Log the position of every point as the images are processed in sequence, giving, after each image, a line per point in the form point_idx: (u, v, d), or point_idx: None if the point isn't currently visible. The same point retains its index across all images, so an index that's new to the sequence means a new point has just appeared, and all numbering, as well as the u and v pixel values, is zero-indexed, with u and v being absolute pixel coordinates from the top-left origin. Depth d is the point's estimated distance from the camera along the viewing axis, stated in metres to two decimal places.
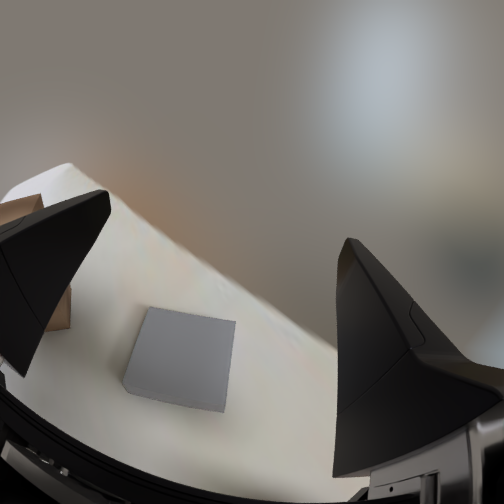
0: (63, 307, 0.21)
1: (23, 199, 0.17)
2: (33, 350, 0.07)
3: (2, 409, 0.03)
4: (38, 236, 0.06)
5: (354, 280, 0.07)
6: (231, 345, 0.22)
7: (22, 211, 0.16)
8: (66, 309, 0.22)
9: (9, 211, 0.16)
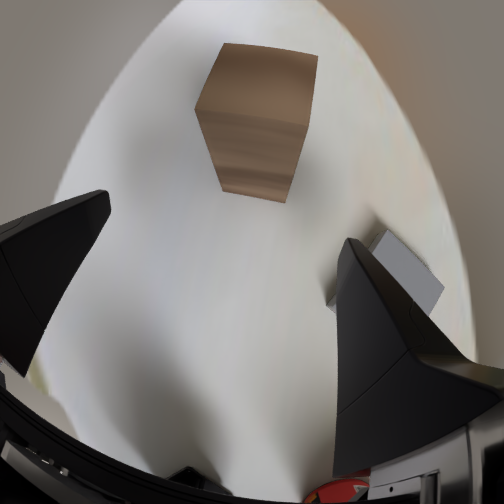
0: None
1: (286, 53, 0.12)
2: (33, 350, 0.07)
3: (2, 409, 0.03)
4: (38, 236, 0.06)
5: (354, 280, 0.07)
6: (430, 310, 0.20)
7: (292, 81, 0.12)
8: None
9: (261, 68, 0.12)
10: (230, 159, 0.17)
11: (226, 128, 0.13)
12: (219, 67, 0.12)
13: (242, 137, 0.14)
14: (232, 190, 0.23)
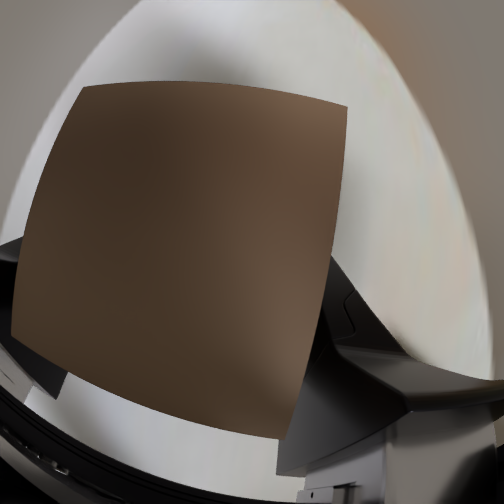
0: None
1: (242, 102, 0.04)
2: None
3: (2, 409, 0.03)
4: None
5: None
6: None
7: (247, 246, 0.04)
8: None
9: (147, 183, 0.04)
10: None
11: None
12: (49, 184, 0.04)
13: None
14: None
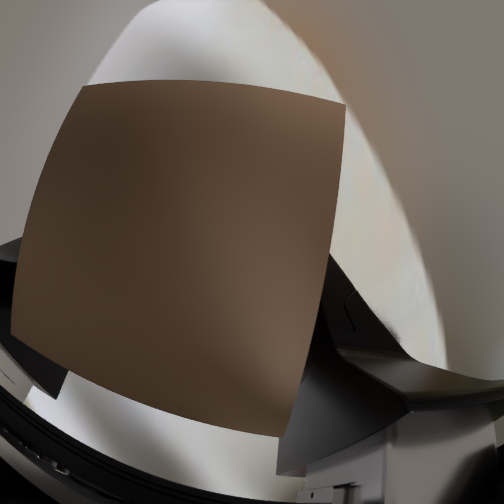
0: None
1: (241, 100, 0.04)
2: (65, 370, 0.07)
3: (2, 409, 0.03)
4: None
5: None
6: None
7: (246, 242, 0.04)
8: None
9: (146, 181, 0.04)
10: None
11: None
12: (49, 182, 0.04)
13: None
14: None
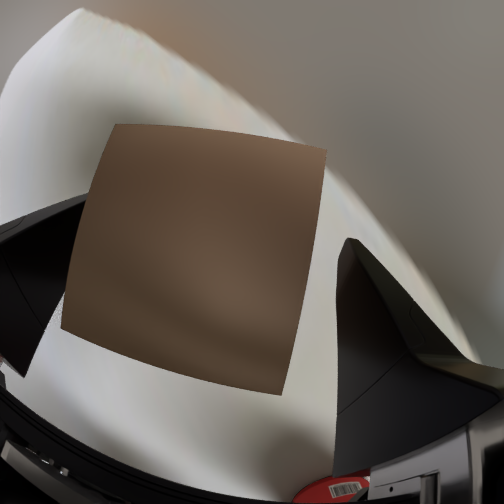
0: None
1: (248, 149, 0.06)
2: (33, 351, 0.07)
3: (2, 409, 0.03)
4: (38, 236, 0.06)
5: (354, 280, 0.07)
6: None
7: (253, 256, 0.06)
8: None
9: (181, 211, 0.06)
10: None
11: None
12: (95, 207, 0.06)
13: None
14: None
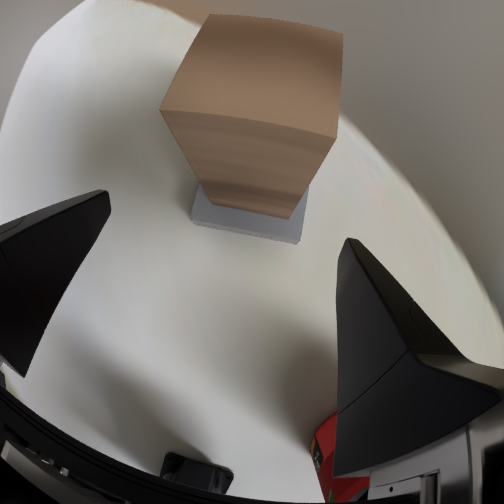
0: None
1: (299, 28, 0.08)
2: (33, 350, 0.07)
3: (2, 409, 0.03)
4: (38, 236, 0.06)
5: (354, 280, 0.07)
6: None
7: (308, 66, 0.08)
8: None
9: (262, 47, 0.08)
10: (218, 173, 0.13)
11: (209, 136, 0.09)
12: (200, 46, 0.08)
13: (234, 147, 0.09)
14: (223, 204, 0.19)
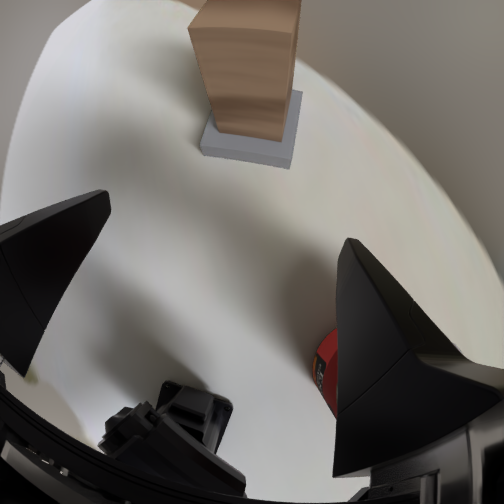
0: (284, 120, 0.20)
1: None
2: (33, 350, 0.07)
3: (2, 409, 0.03)
4: (38, 236, 0.06)
5: (354, 280, 0.07)
6: (298, 110, 0.22)
7: (277, 7, 0.10)
8: (285, 121, 0.21)
9: (249, 0, 0.11)
10: (223, 85, 0.16)
11: (217, 46, 0.12)
12: (212, 2, 0.11)
13: (232, 54, 0.12)
14: (228, 130, 0.22)
